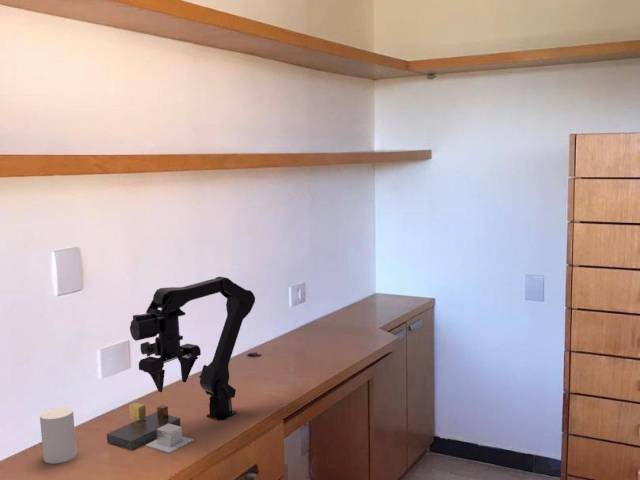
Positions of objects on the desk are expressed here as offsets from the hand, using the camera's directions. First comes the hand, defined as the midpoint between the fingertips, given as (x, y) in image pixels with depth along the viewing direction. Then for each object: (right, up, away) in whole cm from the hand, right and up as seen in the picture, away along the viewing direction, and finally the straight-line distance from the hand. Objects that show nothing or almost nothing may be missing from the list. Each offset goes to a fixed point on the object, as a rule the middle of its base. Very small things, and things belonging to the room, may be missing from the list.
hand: (172, 386), depth 187 cm
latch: (-11, -10, +5) cm, 16 cm away
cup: (-27, -16, -12) cm, 34 cm away
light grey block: (+1, -14, -7) cm, 15 cm away
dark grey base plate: (-8, -13, 0) cm, 16 cm away
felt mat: (+1, -14, -7) cm, 16 cm away
